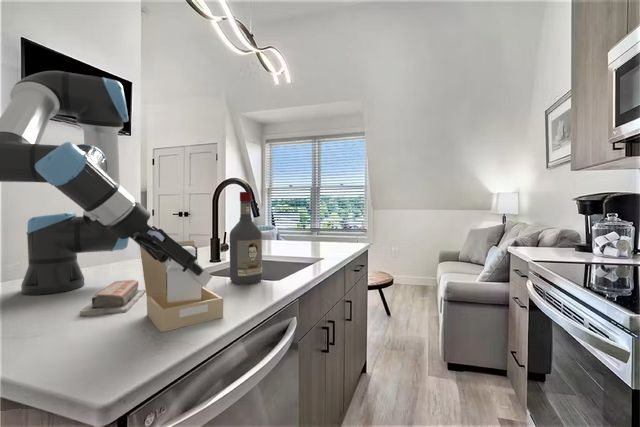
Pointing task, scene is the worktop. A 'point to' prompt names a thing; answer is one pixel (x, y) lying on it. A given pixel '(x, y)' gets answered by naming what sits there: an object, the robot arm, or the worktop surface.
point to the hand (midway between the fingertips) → (196, 278)
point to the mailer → (175, 312)
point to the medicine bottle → (181, 281)
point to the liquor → (245, 246)
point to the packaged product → (114, 298)
